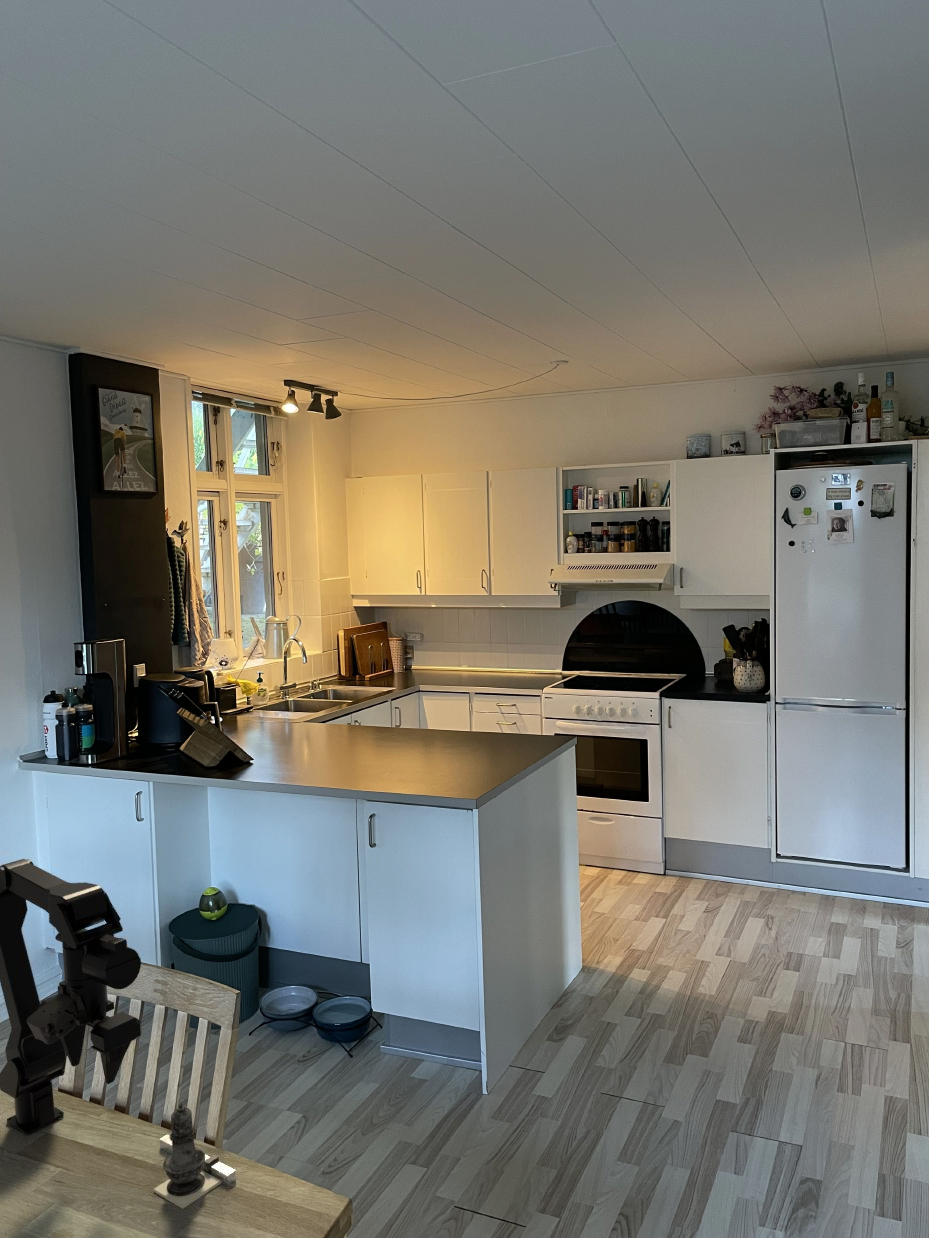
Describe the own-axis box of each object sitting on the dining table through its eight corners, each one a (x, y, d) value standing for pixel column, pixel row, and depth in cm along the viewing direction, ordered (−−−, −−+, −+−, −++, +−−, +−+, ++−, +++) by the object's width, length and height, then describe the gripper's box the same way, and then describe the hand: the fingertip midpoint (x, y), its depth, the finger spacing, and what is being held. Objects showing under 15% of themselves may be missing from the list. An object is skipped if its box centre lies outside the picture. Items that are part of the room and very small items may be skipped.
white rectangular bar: (158, 1148, 149) (157, 1136, 149) (169, 1142, 151) (168, 1130, 150) (226, 1185, 139) (226, 1172, 139) (237, 1178, 141) (236, 1165, 141)
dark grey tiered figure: (155, 1190, 138) (149, 1108, 138) (185, 1166, 143) (180, 1087, 143) (186, 1202, 136) (180, 1118, 135) (216, 1177, 141) (210, 1096, 140)
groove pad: (153, 1191, 139) (153, 1188, 139) (192, 1167, 144) (192, 1164, 144) (182, 1208, 135) (182, 1205, 135) (221, 1182, 140) (220, 1180, 140)
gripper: (0, 978, 145) (8, 1080, 146) (69, 1009, 134) (78, 1119, 135) (69, 952, 154) (76, 1048, 155) (140, 978, 143) (147, 1082, 144)
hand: (92, 1073), depth 147 cm, fingers open, 9 cm apart
